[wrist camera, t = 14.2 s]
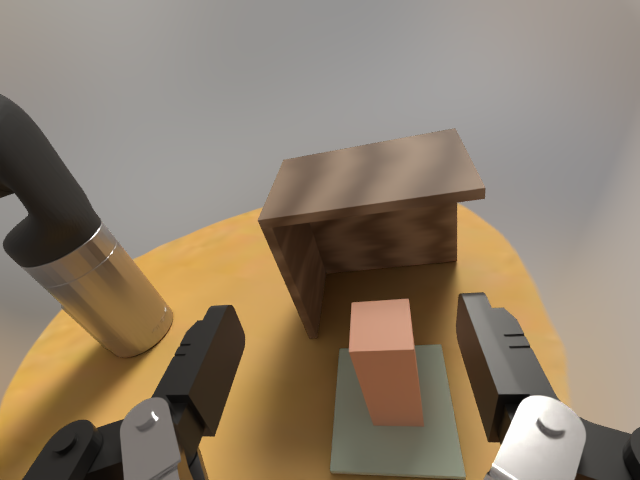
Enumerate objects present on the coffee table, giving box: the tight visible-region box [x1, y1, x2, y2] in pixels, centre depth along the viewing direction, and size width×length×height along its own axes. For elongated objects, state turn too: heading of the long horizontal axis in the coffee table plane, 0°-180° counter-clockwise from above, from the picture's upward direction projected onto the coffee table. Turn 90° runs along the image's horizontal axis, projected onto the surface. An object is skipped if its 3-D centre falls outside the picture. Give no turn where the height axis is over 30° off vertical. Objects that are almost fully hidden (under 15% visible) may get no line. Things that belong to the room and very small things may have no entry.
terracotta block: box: [349, 299, 424, 427], centre depth 29 cm, size 4×4×12 cm
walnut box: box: [258, 128, 485, 338], centre depth 38 cm, size 19×12×18 cm, turn 84°
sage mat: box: [330, 344, 466, 479], centre depth 33 cm, size 11×12×1 cm
